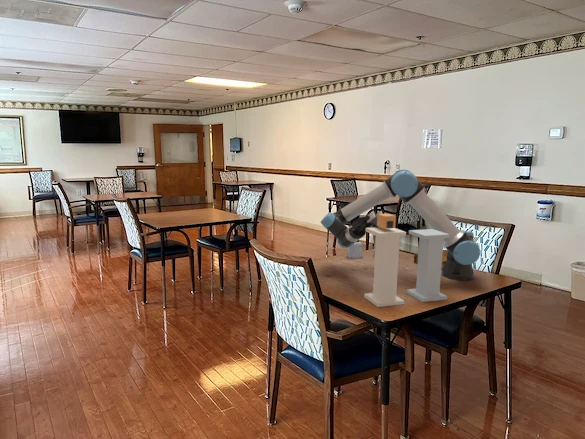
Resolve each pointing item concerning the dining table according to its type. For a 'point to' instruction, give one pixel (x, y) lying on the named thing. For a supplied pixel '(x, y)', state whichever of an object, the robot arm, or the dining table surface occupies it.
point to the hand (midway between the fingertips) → (377, 214)
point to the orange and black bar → (384, 220)
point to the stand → (385, 267)
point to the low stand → (429, 265)
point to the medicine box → (355, 250)
